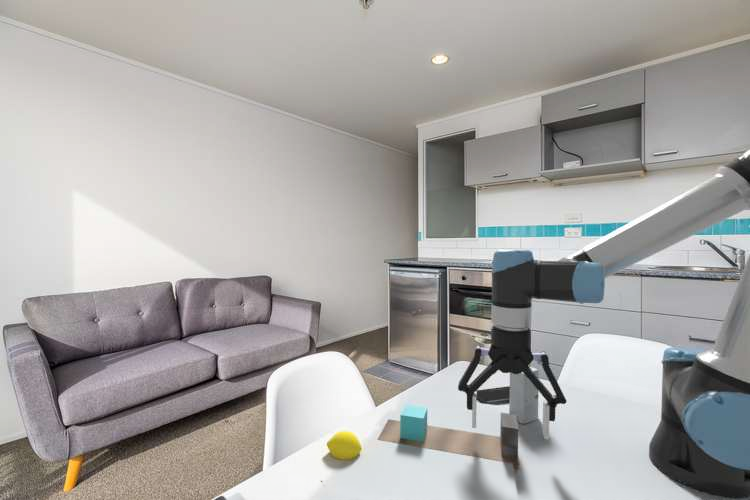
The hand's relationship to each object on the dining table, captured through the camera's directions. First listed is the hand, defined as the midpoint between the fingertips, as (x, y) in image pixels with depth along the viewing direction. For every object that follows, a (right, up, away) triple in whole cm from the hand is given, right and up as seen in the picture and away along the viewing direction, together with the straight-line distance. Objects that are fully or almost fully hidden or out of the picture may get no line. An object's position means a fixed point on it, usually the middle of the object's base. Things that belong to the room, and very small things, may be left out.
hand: (508, 430), depth 73 cm
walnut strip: (-12, -5, +4) cm, 14 cm away
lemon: (-33, -5, -1) cm, 34 cm away
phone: (+8, -5, +28) cm, 30 cm away
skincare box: (+10, -5, +16) cm, 19 cm away
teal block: (-19, -4, +6) cm, 20 cm away
